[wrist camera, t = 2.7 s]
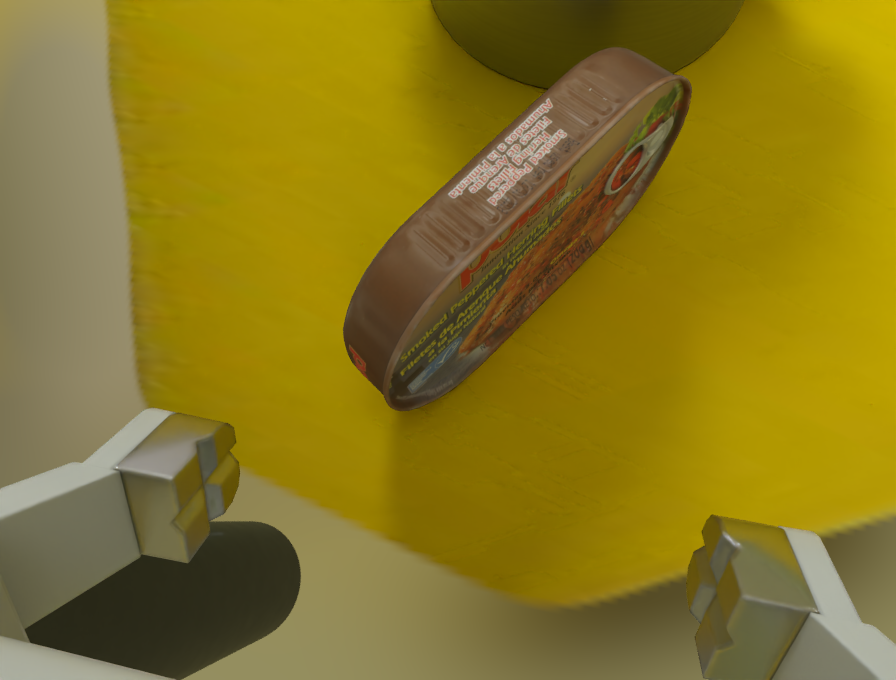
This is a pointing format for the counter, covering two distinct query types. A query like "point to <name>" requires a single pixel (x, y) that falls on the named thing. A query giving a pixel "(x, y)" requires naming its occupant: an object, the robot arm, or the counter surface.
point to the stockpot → (582, 32)
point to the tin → (512, 226)
